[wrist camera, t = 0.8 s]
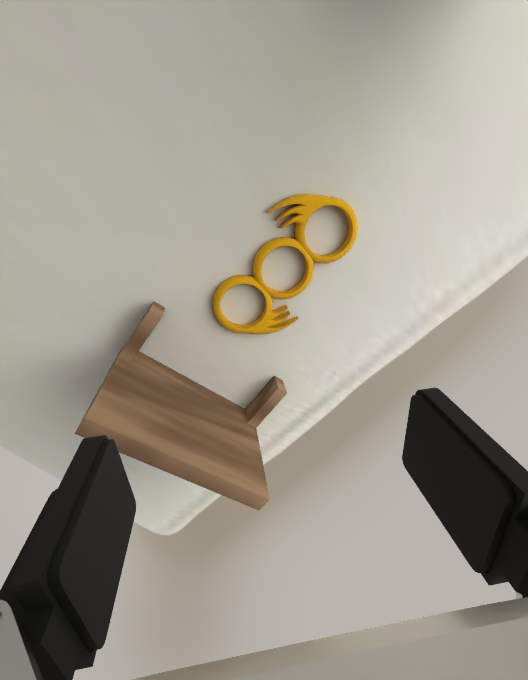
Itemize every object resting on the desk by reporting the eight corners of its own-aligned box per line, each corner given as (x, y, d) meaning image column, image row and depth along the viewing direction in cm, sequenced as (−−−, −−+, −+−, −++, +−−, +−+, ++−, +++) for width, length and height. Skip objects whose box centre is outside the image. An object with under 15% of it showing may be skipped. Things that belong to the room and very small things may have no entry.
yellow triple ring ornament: (375, 248, 34) (318, 163, 30) (382, 251, 32) (323, 162, 28) (252, 351, 37) (185, 286, 33) (254, 357, 35) (184, 290, 31)
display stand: (154, 301, 32) (125, 359, 22) (282, 380, 38) (310, 457, 27) (117, 354, 34) (74, 433, 23) (246, 422, 40) (258, 510, 29)
